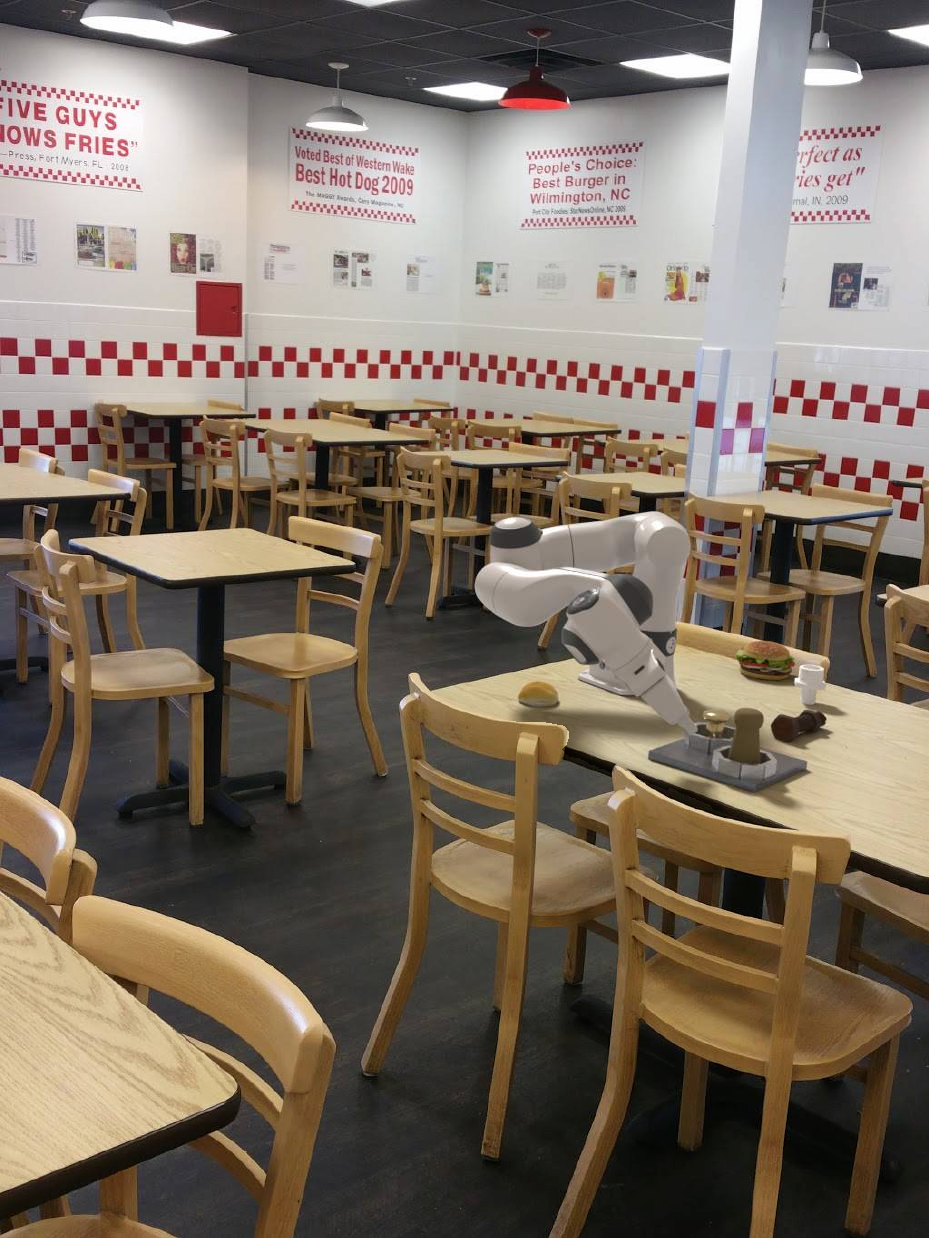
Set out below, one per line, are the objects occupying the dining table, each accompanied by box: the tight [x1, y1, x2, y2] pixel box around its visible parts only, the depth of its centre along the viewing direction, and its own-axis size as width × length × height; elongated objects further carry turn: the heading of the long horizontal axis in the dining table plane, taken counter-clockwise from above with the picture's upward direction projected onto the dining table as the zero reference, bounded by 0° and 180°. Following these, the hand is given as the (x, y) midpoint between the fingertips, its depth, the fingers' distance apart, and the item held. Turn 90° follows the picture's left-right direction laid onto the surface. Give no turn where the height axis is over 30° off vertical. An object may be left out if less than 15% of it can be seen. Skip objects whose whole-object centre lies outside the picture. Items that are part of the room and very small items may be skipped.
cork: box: [728, 707, 765, 764], centre depth 211 cm, size 6×6×11 cm
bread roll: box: [517, 680, 559, 708], centre depth 251 cm, size 8×9×4 cm
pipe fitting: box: [793, 664, 827, 705], centre depth 262 cm, size 6×7×8 cm
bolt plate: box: [647, 709, 808, 793], centre depth 218 cm, size 22×19×8 cm
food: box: [735, 640, 796, 681], centre depth 284 cm, size 14×14×8 cm
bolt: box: [770, 709, 827, 743], centre depth 239 cm, size 6×5×15 cm
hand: (690, 723), depth 210 cm, fingers open, 8 cm apart
